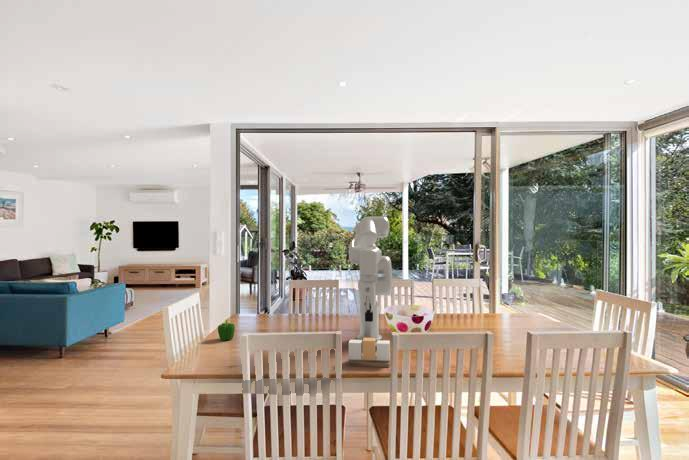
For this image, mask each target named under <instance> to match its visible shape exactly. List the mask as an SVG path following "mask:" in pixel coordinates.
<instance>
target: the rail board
mask: <svg viewBox="0 0 689 460" xmlns="http://www.w3.org/2000/svg"><path fill="white" fill-rule="evenodd" d="M376 346H377V351H376V357H375V360H363V352H362V340H355V339H352V340H351V339H349V341H348V362H347V366H348V367H369V368H370V367H373V368H376V367H377V368H390V365H391V349H390V347H391V345H390V340H382V339H380V340H377V341H376Z"/></svg>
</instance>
